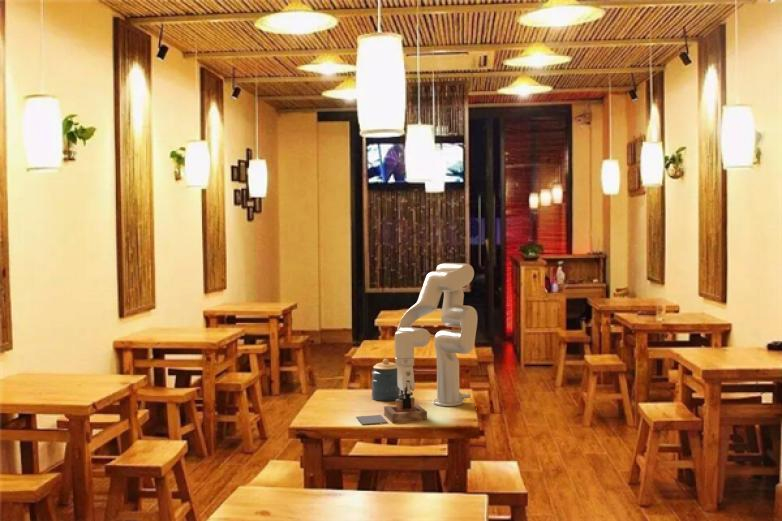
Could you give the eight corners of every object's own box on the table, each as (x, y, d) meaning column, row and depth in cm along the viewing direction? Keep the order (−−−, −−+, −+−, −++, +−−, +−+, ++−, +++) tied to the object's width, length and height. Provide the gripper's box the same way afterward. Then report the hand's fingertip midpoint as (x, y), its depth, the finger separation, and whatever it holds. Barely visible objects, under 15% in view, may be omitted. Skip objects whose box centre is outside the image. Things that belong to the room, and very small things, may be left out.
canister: (375, 402, 360) (374, 361, 359) (368, 396, 373) (368, 357, 372) (404, 400, 363) (403, 360, 362) (397, 394, 376) (396, 355, 375)
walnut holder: (417, 412, 340) (417, 404, 340) (427, 420, 327) (427, 411, 327) (384, 414, 337) (384, 406, 337) (392, 423, 323) (392, 414, 323)
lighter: (398, 419, 329) (398, 394, 328) (394, 417, 332) (394, 392, 331) (416, 416, 333) (416, 392, 332) (412, 415, 336) (412, 390, 335)
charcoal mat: (380, 416, 335) (380, 414, 335) (387, 423, 323) (387, 421, 323) (356, 418, 332) (356, 416, 332) (362, 425, 321) (362, 423, 321)
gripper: (419, 364, 324) (420, 411, 325) (408, 357, 340) (409, 401, 341) (400, 365, 322) (401, 412, 323) (390, 358, 338) (391, 403, 339)
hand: (405, 406), depth 332 cm, fingers closed on lighter, 3 cm apart
